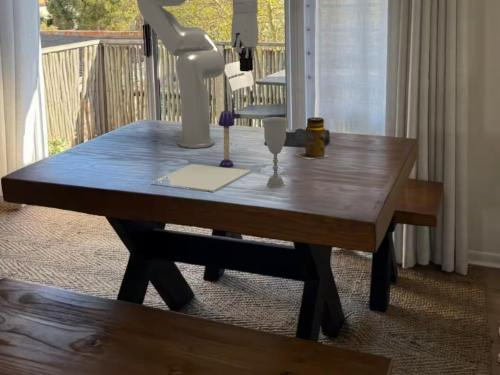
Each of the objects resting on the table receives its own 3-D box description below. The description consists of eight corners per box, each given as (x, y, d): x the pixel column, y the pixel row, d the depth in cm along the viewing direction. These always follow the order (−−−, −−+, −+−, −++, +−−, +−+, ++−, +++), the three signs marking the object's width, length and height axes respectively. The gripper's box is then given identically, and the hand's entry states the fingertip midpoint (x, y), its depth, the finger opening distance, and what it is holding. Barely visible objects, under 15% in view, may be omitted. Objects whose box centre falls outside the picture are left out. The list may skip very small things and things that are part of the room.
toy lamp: (237, 164, 205) (236, 110, 200) (231, 168, 201) (230, 113, 196) (222, 163, 206) (220, 109, 202) (217, 167, 202) (215, 112, 197)
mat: (150, 184, 185) (150, 182, 185) (192, 165, 204) (191, 163, 204) (213, 192, 177) (213, 190, 177) (250, 172, 196) (250, 170, 195)
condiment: (330, 156, 213) (330, 118, 210) (309, 160, 209) (309, 122, 205) (315, 152, 219) (316, 115, 216) (295, 155, 215) (295, 118, 211)
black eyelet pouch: (272, 137, 244) (272, 124, 242) (332, 140, 238) (332, 126, 236) (261, 146, 229) (261, 133, 228) (325, 149, 224) (325, 135, 222)
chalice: (261, 181, 186) (260, 117, 181) (286, 180, 186) (286, 116, 181) (264, 189, 179) (263, 122, 174) (289, 188, 180) (289, 121, 174)
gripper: (245, 8, 211) (246, 67, 216) (221, 10, 198) (223, 73, 203) (267, 8, 208) (268, 68, 213) (244, 10, 194) (245, 74, 199)
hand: (246, 70), depth 208 cm, fingers closed
